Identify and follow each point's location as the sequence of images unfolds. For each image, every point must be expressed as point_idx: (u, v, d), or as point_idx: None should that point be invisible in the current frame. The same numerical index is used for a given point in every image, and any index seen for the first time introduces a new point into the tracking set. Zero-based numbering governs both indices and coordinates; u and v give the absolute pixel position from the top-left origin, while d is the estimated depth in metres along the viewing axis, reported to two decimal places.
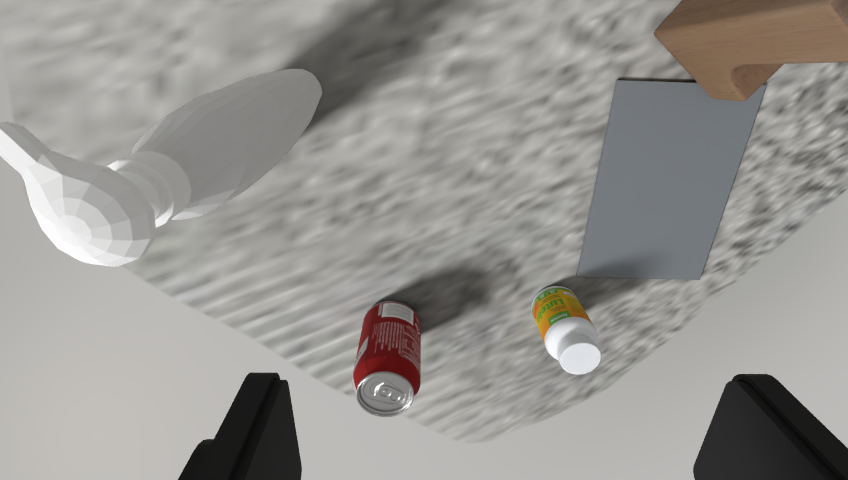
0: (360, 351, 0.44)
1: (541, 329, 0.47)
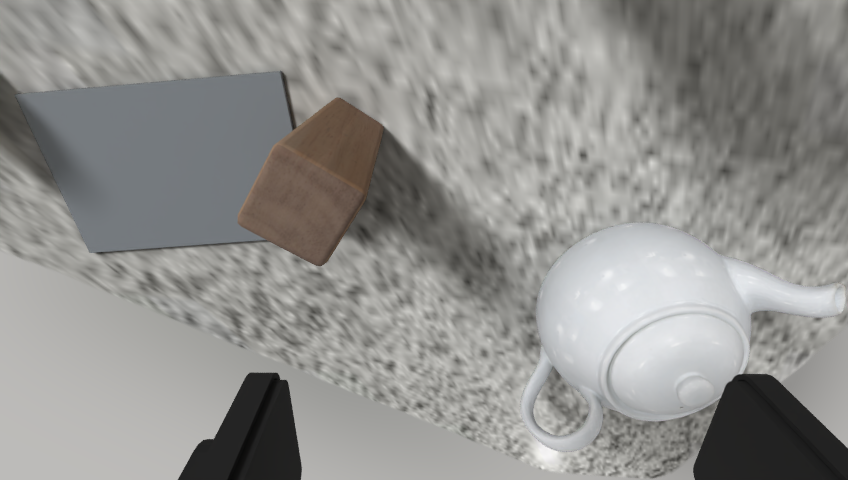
0: None
1: None
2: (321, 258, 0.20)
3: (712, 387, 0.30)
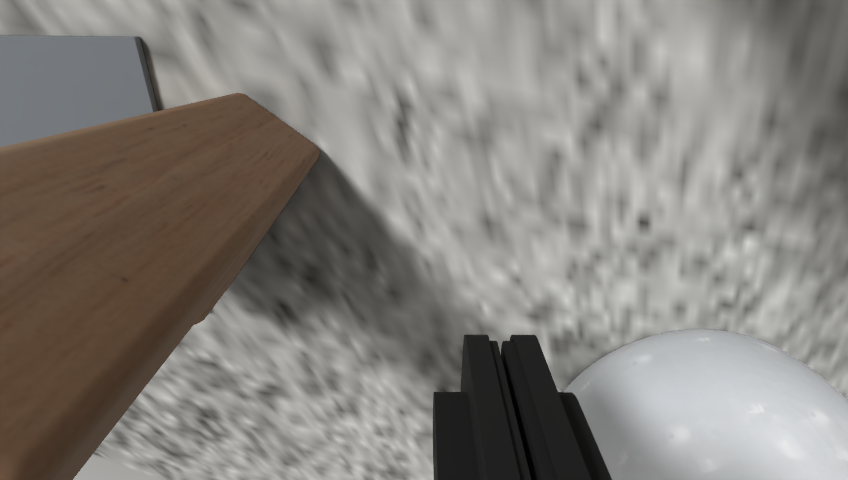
0: None
1: None
2: None
3: None
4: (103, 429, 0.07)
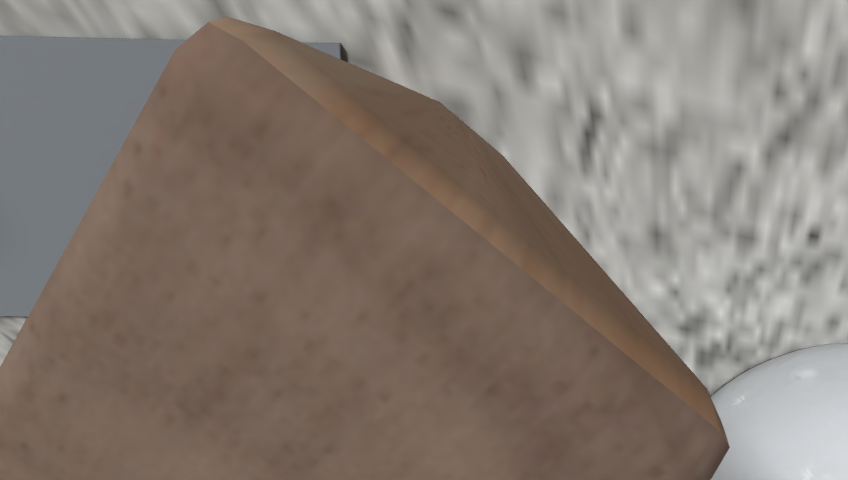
0: None
1: None
2: None
3: None
4: None
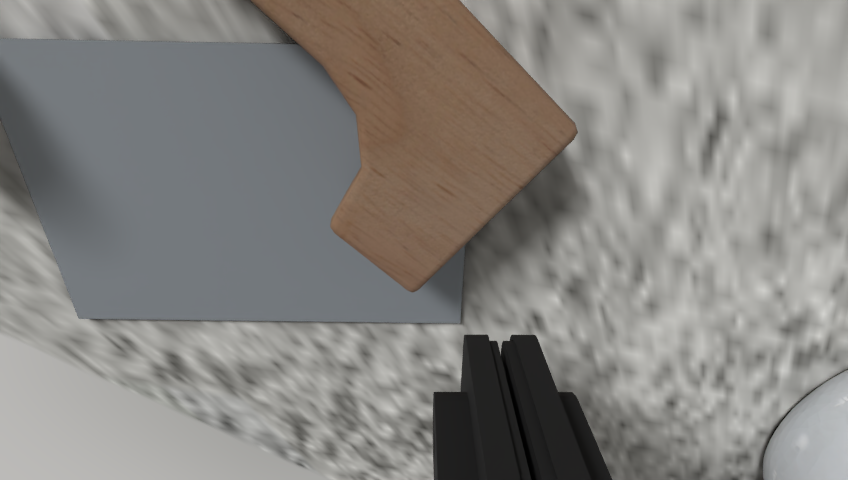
0: None
1: None
2: None
3: None
4: None
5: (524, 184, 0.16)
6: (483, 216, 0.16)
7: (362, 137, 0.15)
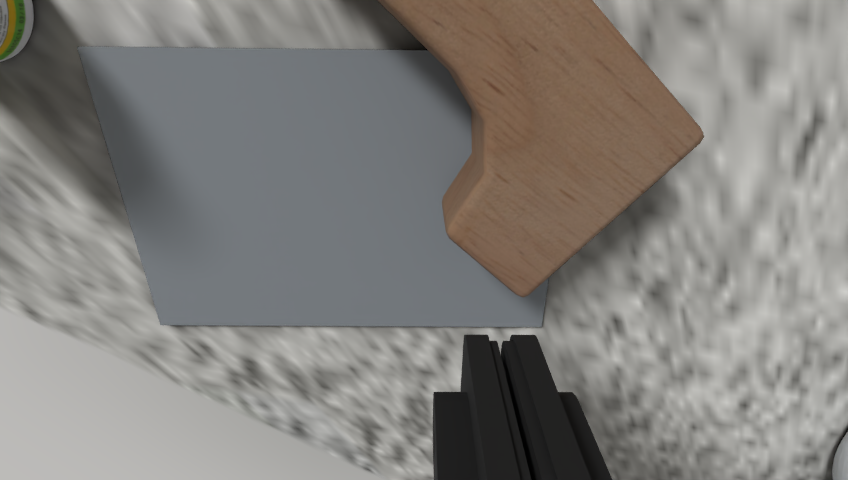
0: None
1: None
2: None
3: None
4: None
5: (646, 188, 0.16)
6: (602, 221, 0.16)
7: (489, 143, 0.15)
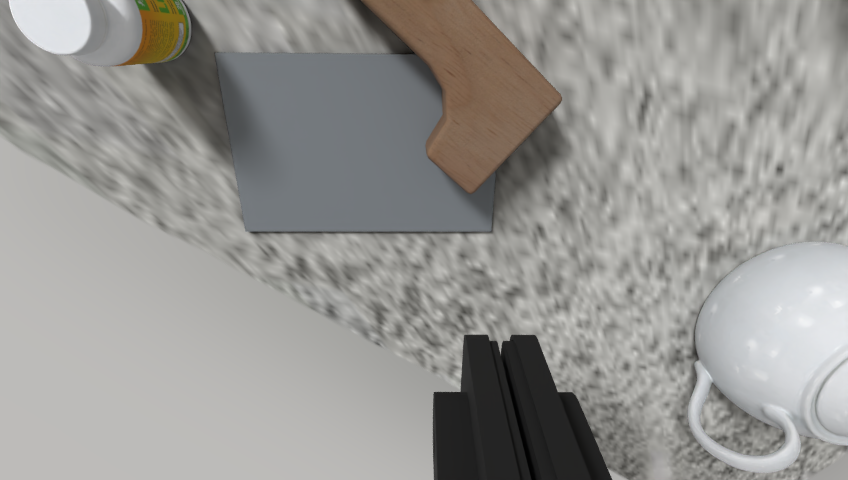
0: None
1: None
2: None
3: None
4: None
5: (534, 128, 0.29)
6: (512, 146, 0.30)
7: (448, 103, 0.29)
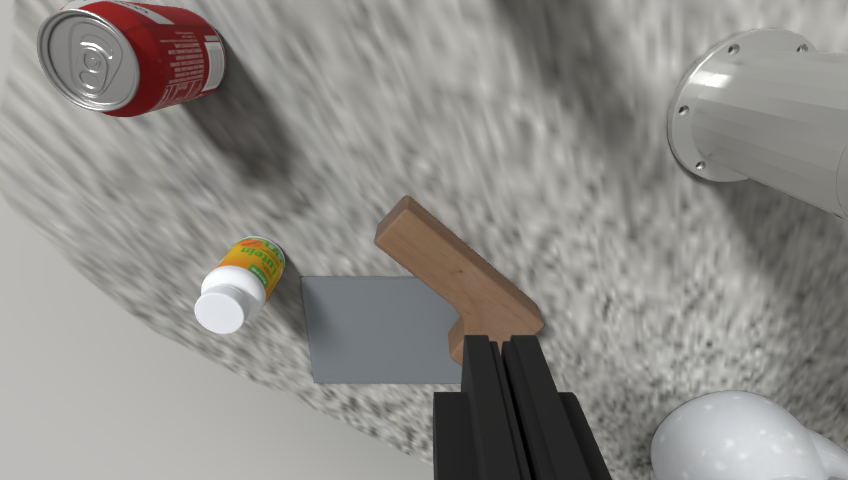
0: (148, 12, 0.28)
1: (235, 258, 0.38)
2: (376, 237, 0.38)
3: None
4: (412, 241, 0.38)
5: None
6: None
7: (465, 328, 0.42)
